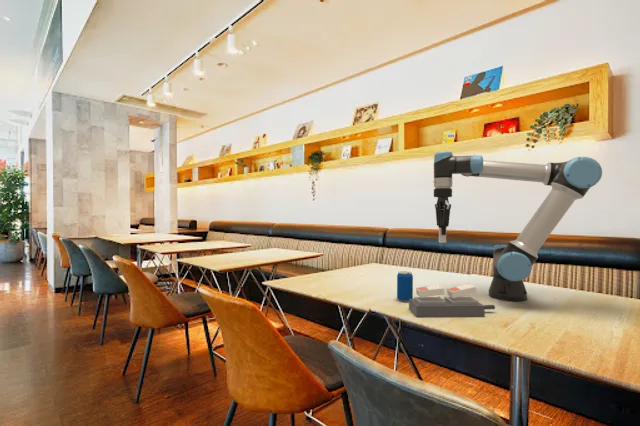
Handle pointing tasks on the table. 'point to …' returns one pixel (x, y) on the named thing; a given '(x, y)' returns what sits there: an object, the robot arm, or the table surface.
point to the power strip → (447, 307)
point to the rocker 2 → (461, 291)
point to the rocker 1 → (429, 291)
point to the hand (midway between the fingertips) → (442, 242)
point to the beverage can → (404, 286)
